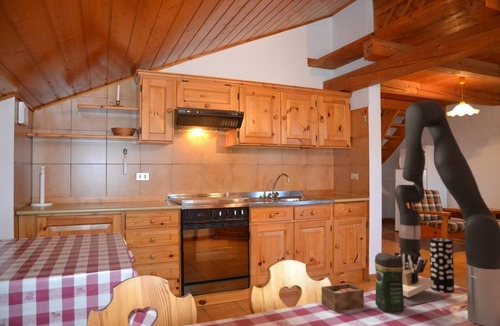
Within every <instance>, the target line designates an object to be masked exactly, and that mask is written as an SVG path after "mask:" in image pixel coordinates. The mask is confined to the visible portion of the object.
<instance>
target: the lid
mask: <svg viewBox="0 0 500 326" xmlns="http://www.w3.org/2000/svg"><path fill="white" fill-rule="evenodd" d="M411 274H412V271H411V267H409V269H406V270H404V271H403V274H402V280H403V295H404V296H407V297H410V296H412V295H415V294H417V293H419V292H421V291H423V290H425V291H426V290H428V289H431V287H432V286H434V283H433V280H430V278H427V277H423V276H421V275H418V282H417V283H416V284H413V283H412V280H411Z"/></svg>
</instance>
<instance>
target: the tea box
mask: <svg viewBox="0 0 500 326" xmlns="http://www.w3.org/2000/svg"><path fill="white" fill-rule="evenodd" d="M320 290H321V305H322V306H325V307H326V308H328V309H329V310H331V311H333V312H334V313H339V312H342V311H343V312H344V311H348V310H349V311H350V310H355V309H360V308H364V307H365V303H364V302H365V301H364V299H365V297H364V296H365V295H364V293H365V292H364V291H365V289H363V288H361V287H359V286H357V285H355V284H352V283H350V282H345V283H338V284H332V285H325V286H321V289H320Z"/></svg>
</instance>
